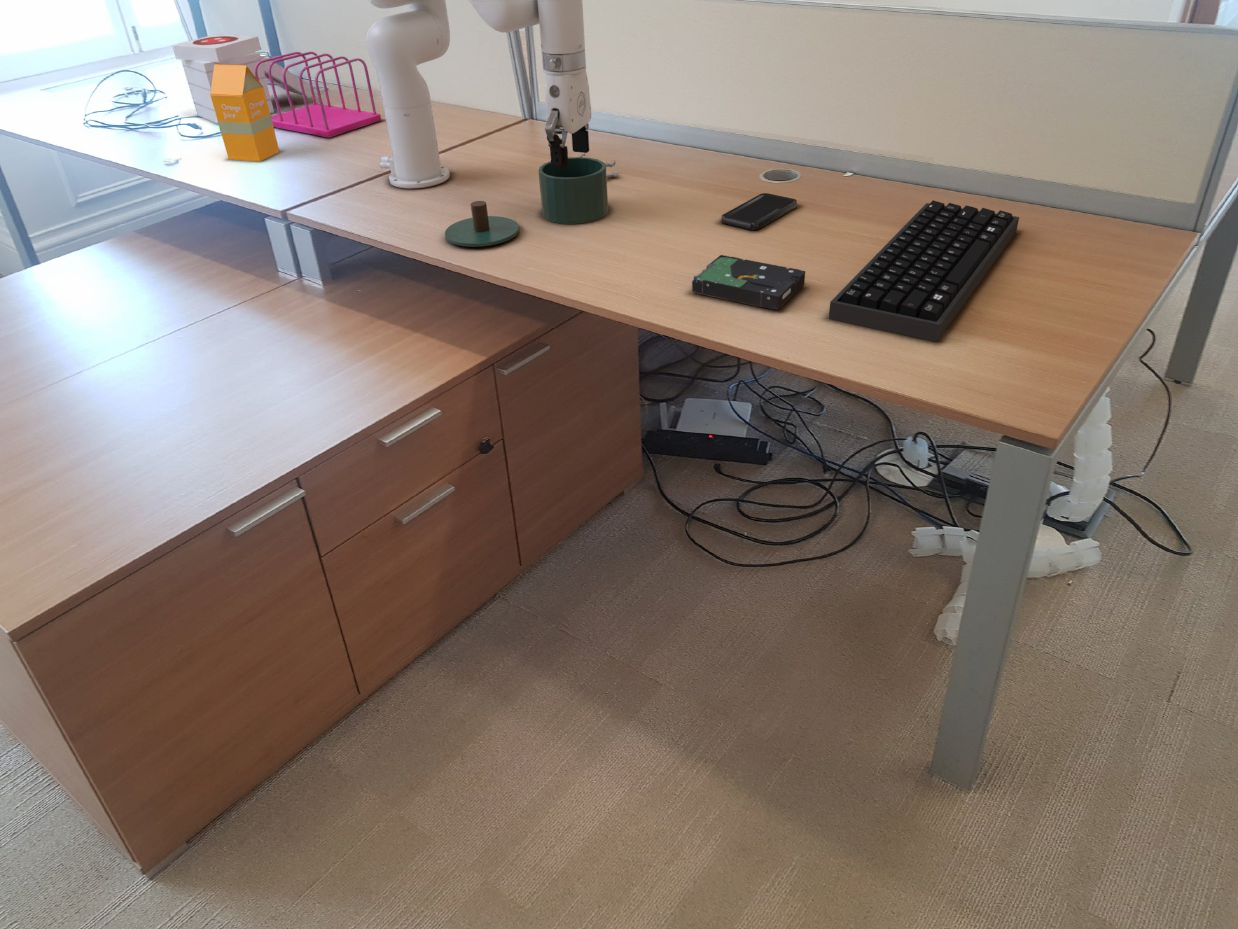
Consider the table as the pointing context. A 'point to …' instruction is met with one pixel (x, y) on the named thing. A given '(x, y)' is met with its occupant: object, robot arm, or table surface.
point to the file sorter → (317, 115)
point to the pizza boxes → (228, 50)
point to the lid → (481, 228)
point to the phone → (759, 211)
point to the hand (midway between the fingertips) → (570, 160)
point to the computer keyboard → (926, 271)
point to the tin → (574, 191)
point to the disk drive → (749, 282)
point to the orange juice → (242, 113)
